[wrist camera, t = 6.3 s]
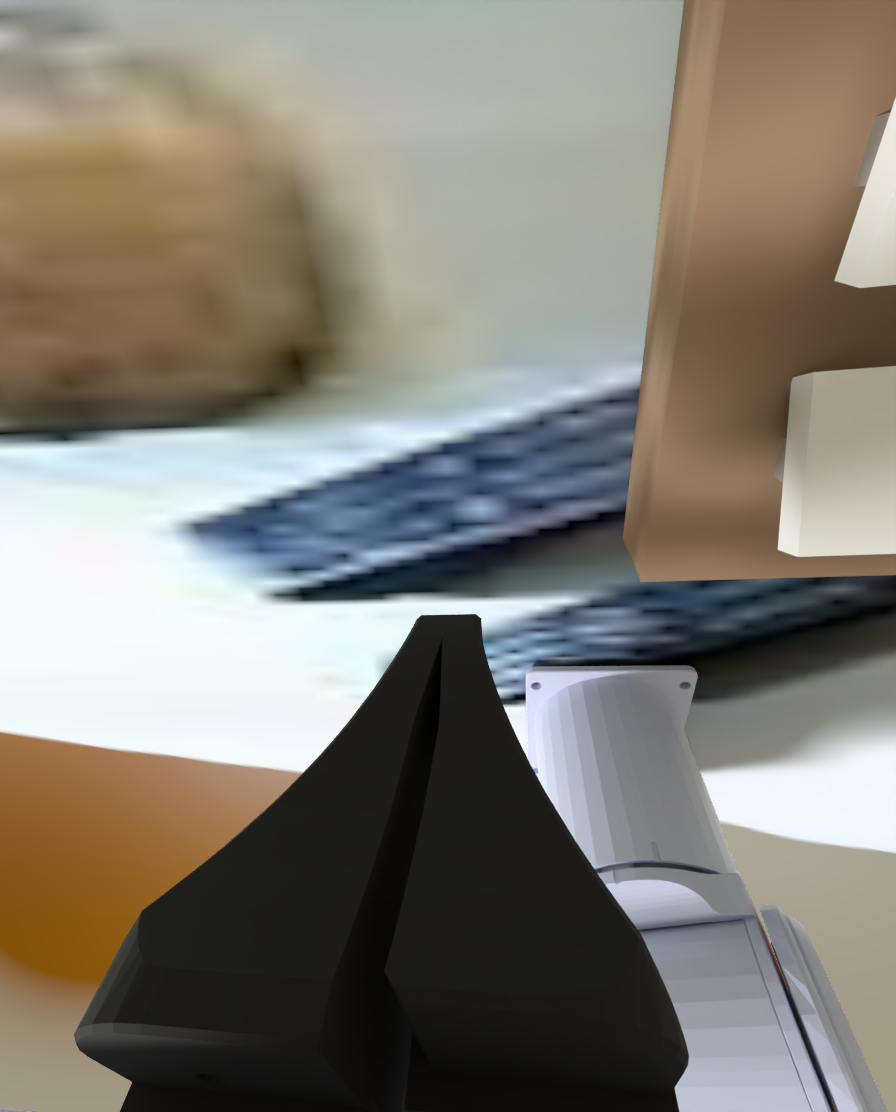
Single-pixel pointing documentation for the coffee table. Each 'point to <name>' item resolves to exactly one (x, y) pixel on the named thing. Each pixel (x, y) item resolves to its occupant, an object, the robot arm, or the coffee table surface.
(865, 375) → the block
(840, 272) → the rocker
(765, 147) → the switch box
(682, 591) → the coffee table surface
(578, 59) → the coffee table surface
